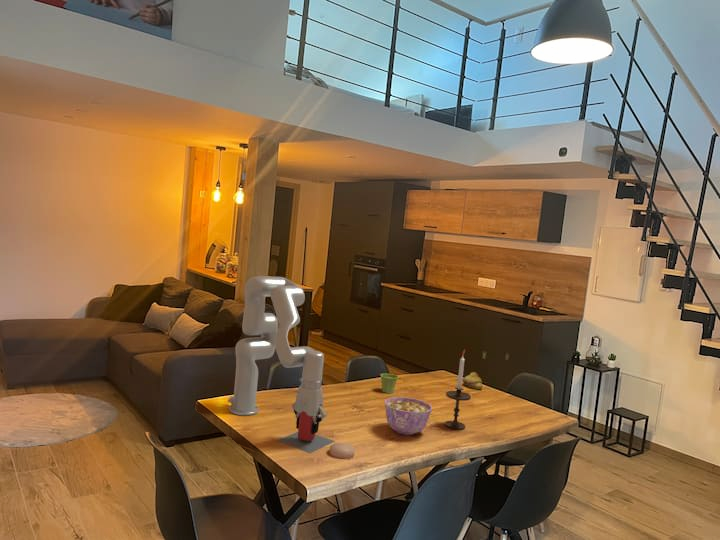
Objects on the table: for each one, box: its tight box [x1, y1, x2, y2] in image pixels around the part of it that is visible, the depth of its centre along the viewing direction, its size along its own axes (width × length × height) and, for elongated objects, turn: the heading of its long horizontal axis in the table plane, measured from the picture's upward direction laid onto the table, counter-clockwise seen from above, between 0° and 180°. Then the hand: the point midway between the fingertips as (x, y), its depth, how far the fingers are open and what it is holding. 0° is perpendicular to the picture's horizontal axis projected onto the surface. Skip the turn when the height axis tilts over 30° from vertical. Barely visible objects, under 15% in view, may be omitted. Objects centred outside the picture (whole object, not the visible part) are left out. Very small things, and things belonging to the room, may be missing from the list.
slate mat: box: [275, 431, 336, 454], centre depth 202 cm, size 16×16×1 cm
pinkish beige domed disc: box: [329, 442, 355, 460], centre depth 194 cm, size 9×9×3 cm
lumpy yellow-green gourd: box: [462, 371, 483, 390], centre depth 309 cm, size 13×10×8 cm
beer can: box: [297, 411, 317, 441], centre depth 202 cm, size 7×7×12 cm
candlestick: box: [444, 349, 472, 431], centre depth 237 cm, size 11×11×35 cm
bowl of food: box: [384, 396, 433, 436], centre depth 225 cm, size 20×20×12 cm
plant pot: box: [379, 373, 399, 394], centre depth 282 cm, size 9×9×9 cm
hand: (306, 429), depth 202 cm, fingers closed on beer can, 6 cm apart
